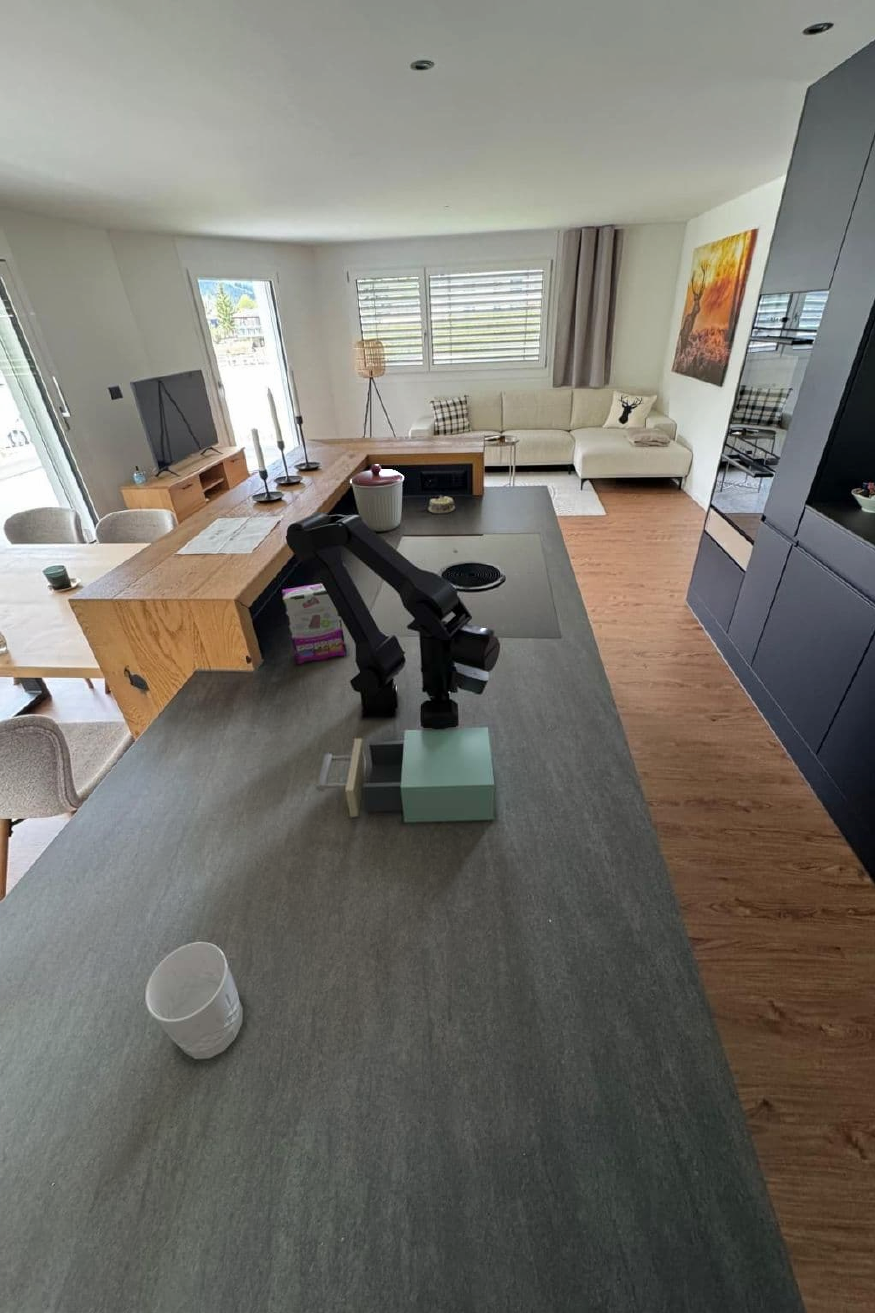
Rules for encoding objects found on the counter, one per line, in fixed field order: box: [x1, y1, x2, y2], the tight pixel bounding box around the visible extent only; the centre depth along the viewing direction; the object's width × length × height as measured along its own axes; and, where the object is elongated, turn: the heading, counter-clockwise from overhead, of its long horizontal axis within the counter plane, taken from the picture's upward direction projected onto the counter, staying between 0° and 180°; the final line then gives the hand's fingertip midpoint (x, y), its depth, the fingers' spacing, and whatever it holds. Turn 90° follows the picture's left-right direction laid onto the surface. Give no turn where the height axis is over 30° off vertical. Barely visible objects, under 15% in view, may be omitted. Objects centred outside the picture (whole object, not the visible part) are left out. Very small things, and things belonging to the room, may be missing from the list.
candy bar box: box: [282, 583, 348, 665], centre depth 121 cm, size 11×5×16 cm, turn 105°
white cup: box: [144, 941, 244, 1060], centre depth 59 cm, size 8×8×10 cm
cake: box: [427, 494, 456, 514], centre depth 204 cm, size 10×10×5 cm
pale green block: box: [401, 727, 495, 823], centre depth 88 cm, size 14×13×8 cm
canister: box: [349, 463, 405, 532], centre depth 187 cm, size 18×18×21 cm
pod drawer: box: [316, 737, 404, 818], centre depth 88 cm, size 17×11×6 cm, turn 90°
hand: (441, 725), depth 102 cm, fingers open, 5 cm apart
